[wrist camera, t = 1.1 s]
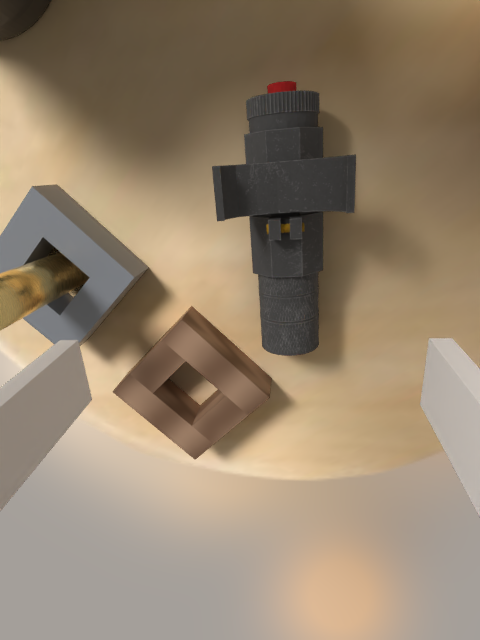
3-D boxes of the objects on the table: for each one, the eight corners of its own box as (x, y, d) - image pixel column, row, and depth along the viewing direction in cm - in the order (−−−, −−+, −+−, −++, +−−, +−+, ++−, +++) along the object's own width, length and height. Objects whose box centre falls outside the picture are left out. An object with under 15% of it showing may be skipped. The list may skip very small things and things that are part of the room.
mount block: (0, 268, 43) (-27, 277, 40) (56, 184, 39) (32, 186, 36) (86, 340, 45) (68, 355, 42) (148, 267, 41) (134, 277, 37)
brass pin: (48, 268, 43) (-82, 321, 28) (67, 241, 41) (-59, 282, 26) (77, 293, 43) (-35, 358, 28) (97, 267, 42) (-10, 322, 27)
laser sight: (245, 332, 43) (231, 377, 33) (227, 97, 35) (203, 72, 26) (337, 330, 41) (349, 377, 32) (340, 85, 33) (358, 53, 24)
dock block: (127, 373, 46) (112, 391, 43) (191, 306, 42) (181, 319, 38) (202, 437, 48) (195, 459, 44) (271, 378, 44) (269, 397, 40)
